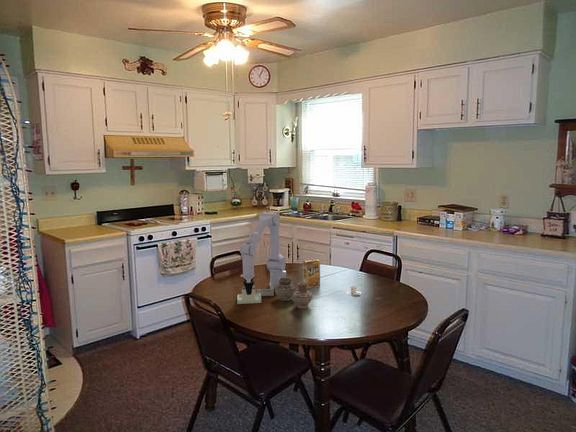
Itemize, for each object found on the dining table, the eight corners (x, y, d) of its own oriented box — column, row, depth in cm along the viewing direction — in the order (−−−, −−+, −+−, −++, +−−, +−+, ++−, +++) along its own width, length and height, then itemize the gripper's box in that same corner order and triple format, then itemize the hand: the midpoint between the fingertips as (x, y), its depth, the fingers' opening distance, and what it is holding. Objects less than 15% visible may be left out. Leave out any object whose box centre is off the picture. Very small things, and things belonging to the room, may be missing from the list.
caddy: (255, 297, 224) (255, 285, 223) (255, 300, 220) (255, 287, 219) (241, 298, 223) (240, 286, 223) (240, 300, 220) (240, 288, 219)
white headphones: (360, 297, 226) (360, 289, 225) (345, 296, 227) (345, 289, 227) (361, 292, 234) (361, 284, 234) (346, 291, 236) (347, 284, 235)
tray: (260, 296, 227) (260, 293, 227) (261, 302, 218) (261, 299, 218) (237, 297, 226) (237, 294, 226) (237, 303, 217) (237, 300, 217)
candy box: (306, 288, 240) (306, 262, 238) (303, 286, 244) (303, 260, 242) (320, 286, 243) (320, 260, 241) (317, 284, 247) (317, 258, 245)
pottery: (300, 312, 205) (300, 288, 203) (270, 298, 224) (269, 276, 222) (318, 306, 212) (318, 283, 210) (287, 294, 231) (286, 272, 229)
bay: (273, 291, 235) (272, 284, 235) (273, 295, 229) (273, 288, 228) (256, 292, 234) (256, 285, 234) (256, 296, 228) (256, 289, 227)
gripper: (240, 263, 226) (241, 288, 228) (240, 270, 212) (241, 297, 214) (254, 262, 227) (254, 287, 229) (254, 270, 212) (255, 296, 214)
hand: (249, 292), depth 221 cm, fingers open, 7 cm apart
